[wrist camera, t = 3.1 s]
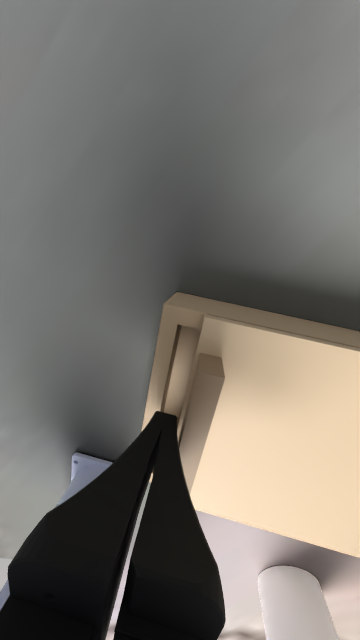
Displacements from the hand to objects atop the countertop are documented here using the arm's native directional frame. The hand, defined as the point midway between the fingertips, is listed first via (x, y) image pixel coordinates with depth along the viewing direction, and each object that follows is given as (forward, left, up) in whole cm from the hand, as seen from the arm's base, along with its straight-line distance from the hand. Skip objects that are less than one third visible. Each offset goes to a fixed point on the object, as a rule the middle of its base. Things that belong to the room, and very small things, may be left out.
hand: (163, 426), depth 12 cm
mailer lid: (0, -9, -1) cm, 9 cm away
